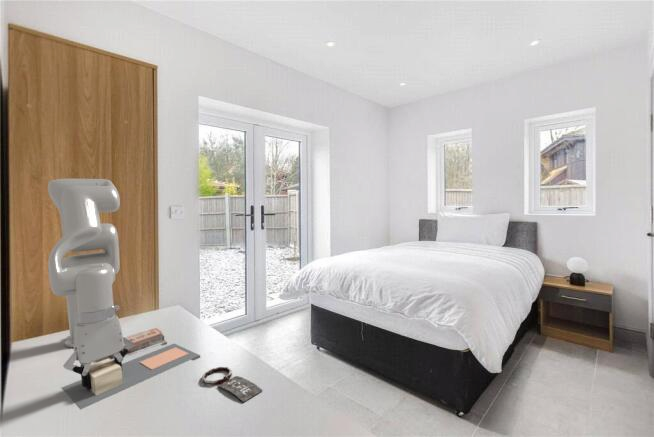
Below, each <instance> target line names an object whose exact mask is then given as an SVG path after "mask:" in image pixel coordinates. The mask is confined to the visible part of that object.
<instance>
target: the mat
mask: <svg viewBox="0 0 654 437" xmlns="http://www.w3.org/2000/svg"><path fill="white" fill-rule="evenodd" d="M199 358H201V354H199V353H196V352H194V351H192V350H190V349H187V348H185V347H183V346H182V345H181V346H180V345H178V344H176V343H171V344H170V345H167V346H165V347H162V348H159V349H157V350H154V351H151V352H148V353H146V354H144V355H141V356H138V357H135V358H134V359H130V360H128V361H126V362H122V378H123V384H121V385H118V386H116V387H114V388H112V389H109V390H107V391H105V392H102V393H100V394H98V395H95V394H94V393H93V392H92V391H91V390H88V389H87V388H86V387H83V386H82V379H80V380H78V381H75V382H72V383H69V384H67V385H65V386H62V387H61V389H62V390H63V391H64V393H65V394H66V395H67V396H68V397H69V398H70V399H71V400H72V401H73V403H74V404H75V405H76V406H77V407H78V408H79V409H80V410H83V409H85V408H87V407H89V406H92V405H94V404H97V403H98V402H100V401H103V400H105V399H107V398H109V397H111V396H113V395H116V394H118V393H119V392H122V391H125V390H127V389H129V388H132V387H133V386H136V385H138V384H140V383H142V382H144V381H146V380H149V379H151V378H153V377H156V376H158V375H159V374H163V373H164V372H167V371H169V370H171V369H173V368H175V367H178V366H180V365H182V364H184V363H186V362H188V361H190V360H191V361H195V360H197V359H199Z"/></svg>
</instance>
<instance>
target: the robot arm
mask: <svg viewBox="0 0 654 437" xmlns="http://www.w3.org/2000/svg"><path fill="white" fill-rule="evenodd" d="M47 192H48V194H49V197H50V199H51V201H52V202H53V204H54V206H55V207H56V208H57V210H58V213H59V215H60V222H61V236H62V237H61V238H60V239H59V240H58V241H57V242H56V244H55V245H54V246H53V247H52V249H51V251H50V253H49V257H48V259H47V268H48V278H49V281H48V282H49V286H50V290H51V292H52V293H53V294H54V295H55V296H58V297H65V298H66V308H67V318H68V326H69V327H68V329H69V338H67V339H66V340H65V341H64V345H65V347H68V348H73V353H72V354H71V355H70V357H69V358H68V359H67V360H66V362H64V364H63V368H64V369H65V370H68V371H71V372H73V373H75V374H79V375H80V376H81V379H80V380H82V386H83V387H86V388H87V389H88V390H90V389H91V388H92V387H91V377H90V374H89V368H90V365H92V363H93V362H96V361H97V362H98V361H99V360H101V359H102V358H105V357H108V356H110V355H113V357H114V358H115V359H114V360H113V362H115V363H116V364H118V365H119V366H121V367H122V364H123V361H124V358H125V357H124V356H125V355H126V354H127V352H128V350H129V349H130V348H131V346H132V345H133V342H132V341H130V340H128V339H126V338H125V337H124V335H123V330H122V325H121V321H120V319H119V317H118V315H117V314H116V313H117V312H118V311H119V310H121V307H120V305H119V304H116V305H115V304H114V295H113V283H114V282H115V281H116V274H118V273H119V271H120V266H121V264H120V263H121V262H120V261H121V260H120V247H119V246H120V245H119V234H118V230H117V228H116V227H115V225H113V224H112V223H110V222H109V223H107V222H106V223H101V218H100V213H114V212H117V211H119V209H120V206H121V199H120V197H121V196H120V194H119V192H118V189H117V188H116V186H115V185H114V183H113V182H112V180H109V179H107V178H57V179H53V180H51V181H49V183H48V184H47ZM96 250H97V251H98V250H103V251H98V252H97V251H96ZM87 251H96V252H87ZM70 252H73V253H76V254H71V255H68V256H66V255H67V254H68V253H70ZM77 252H78V254H77ZM80 252H87V253H80ZM65 256H66V257H65ZM124 344H125V346H124ZM76 361H78V362H79V364H80V366H79V365H75V364H74V363H75V362H76Z"/></svg>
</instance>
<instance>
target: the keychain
mask: <svg viewBox="0 0 654 437" xmlns="http://www.w3.org/2000/svg"><path fill="white" fill-rule="evenodd" d="M220 372H225V373H228V374H227V375H224V376H223V377H222V378H219V379H216V380H210V379H209V380H207V378H208V376H211V375H212V374H215V373H220ZM232 376H233V370H232V369H231V368H229V367H228V366H218V367H214V368H211V369H209V370H207V371H206V372H204V373H203V375H202V378H201V381H202V383H203V385H205V386H209V387H214V386H217V388H218V389H220V390H222V389H224V390H226V391H228V392H230V393H231V394H233V395H234V396H236V397H237V398H238V399H239V400H240V401H239V402H241V403H246V402H247V401H249V400H250V399H252V398H254V397H255V396H256V395H258V394H260V393H262V392H263V389H262V388H260V387H259V385H257V384H255V383H253V382H251V381H250V380H248V379H246V378H244V377H242V376H238V375H235V376H233V377H232Z"/></svg>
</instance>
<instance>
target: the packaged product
mask: <svg viewBox="0 0 654 437" xmlns="http://www.w3.org/2000/svg"><path fill="white" fill-rule="evenodd" d="M124 338H126V339H128V340H130V341H132V342H133V345H132V346H131V348H130V349H129V350H128V352H127V354H126V355H125V356H124V358H127V357H129V356H132V355H135V354H137V353H140V352H143V351H146V350H148V349H152V348H155V347H157V346H165V345H167V344H168V342H167V340H165V335H164V332H162V330H160V329H158V328H156V327H155V328H153V329H151V328H150V329H148V330H144V331H142V332H139V333H136V334H135V333H134V334H132V335H128V336H125V337H124ZM124 346H125V344H124ZM108 358H109V359H111V360H112V361H113V360H114V359H115V358H114V357H113V355H110V356H108V357H105V358H102V359H100V361H103V360H105V359H108Z"/></svg>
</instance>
